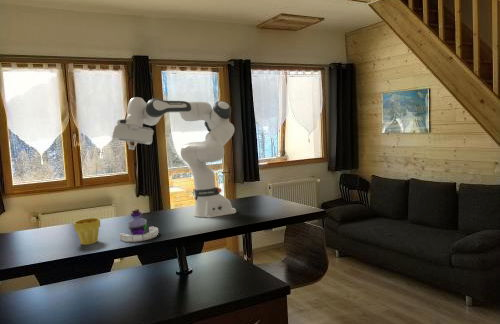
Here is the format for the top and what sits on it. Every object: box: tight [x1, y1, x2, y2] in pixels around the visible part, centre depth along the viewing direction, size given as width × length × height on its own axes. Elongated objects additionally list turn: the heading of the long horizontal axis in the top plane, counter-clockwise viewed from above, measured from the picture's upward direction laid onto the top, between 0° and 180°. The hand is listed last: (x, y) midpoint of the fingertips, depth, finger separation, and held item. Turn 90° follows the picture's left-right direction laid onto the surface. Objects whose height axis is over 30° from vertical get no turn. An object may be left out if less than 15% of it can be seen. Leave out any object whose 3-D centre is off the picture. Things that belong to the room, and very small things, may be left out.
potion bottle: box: [126, 208, 147, 235], centre depth 180 cm, size 9×9×12 cm
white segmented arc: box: [118, 226, 159, 243], centre depth 177 cm, size 11×16×2 cm
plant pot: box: [73, 217, 101, 246], centre depth 174 cm, size 10×10×10 cm
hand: (131, 149), depth 208 cm, fingers closed
